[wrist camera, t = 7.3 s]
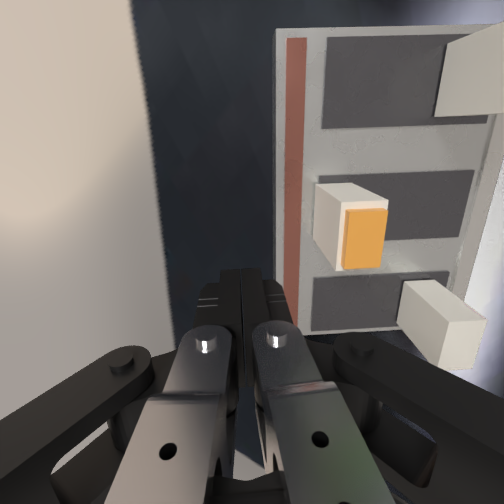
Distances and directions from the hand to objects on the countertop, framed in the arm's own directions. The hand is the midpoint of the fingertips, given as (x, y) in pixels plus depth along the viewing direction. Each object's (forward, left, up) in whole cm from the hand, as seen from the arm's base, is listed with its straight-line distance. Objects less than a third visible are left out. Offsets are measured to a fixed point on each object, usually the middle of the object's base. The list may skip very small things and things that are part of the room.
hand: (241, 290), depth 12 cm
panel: (0, +11, -13) cm, 17 cm away
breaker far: (+8, +14, -11) cm, 19 cm away
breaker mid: (0, +7, -11) cm, 13 cm away
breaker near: (-8, +14, -11) cm, 20 cm away
